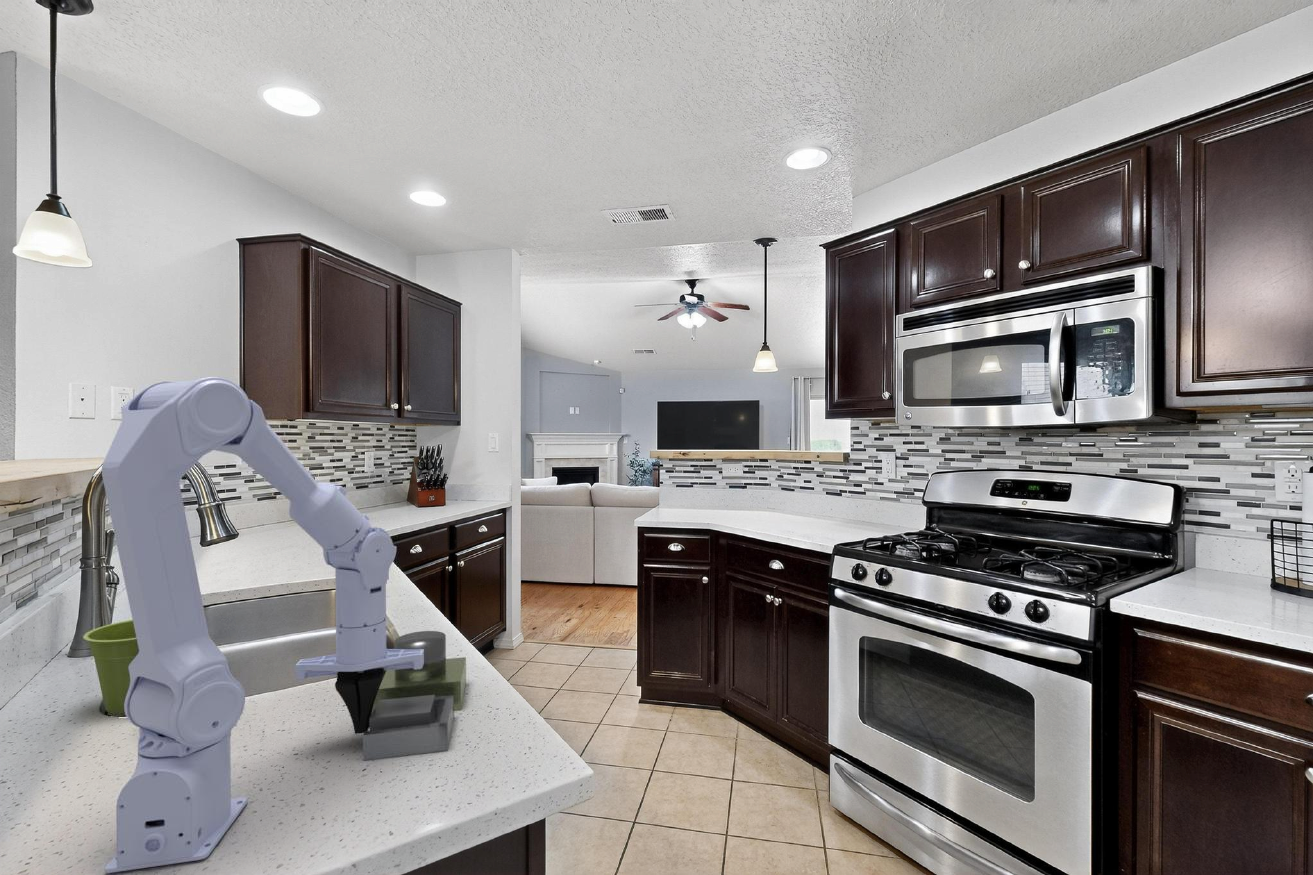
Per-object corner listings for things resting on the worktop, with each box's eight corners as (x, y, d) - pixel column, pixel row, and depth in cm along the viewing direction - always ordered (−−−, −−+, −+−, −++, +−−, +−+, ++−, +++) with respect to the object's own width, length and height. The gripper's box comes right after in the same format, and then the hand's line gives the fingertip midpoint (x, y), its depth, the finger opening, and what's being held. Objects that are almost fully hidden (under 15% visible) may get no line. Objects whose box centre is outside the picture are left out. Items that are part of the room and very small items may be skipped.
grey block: (430, 744, 78) (429, 711, 78) (369, 751, 76) (369, 718, 76) (435, 724, 83) (435, 694, 83) (379, 730, 81) (378, 700, 81)
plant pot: (64, 728, 83) (64, 644, 83) (109, 694, 94) (109, 620, 94) (170, 715, 87) (170, 634, 87) (201, 684, 98) (201, 612, 98)
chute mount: (453, 749, 76) (452, 676, 76) (347, 762, 73) (346, 685, 73) (466, 682, 97) (465, 625, 97) (383, 690, 94) (383, 631, 95)
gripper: (426, 608, 84) (427, 709, 84) (307, 617, 80) (308, 722, 80) (419, 623, 77) (420, 733, 77) (289, 633, 74) (290, 748, 73)
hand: (362, 729), depth 78 cm, fingers closed
